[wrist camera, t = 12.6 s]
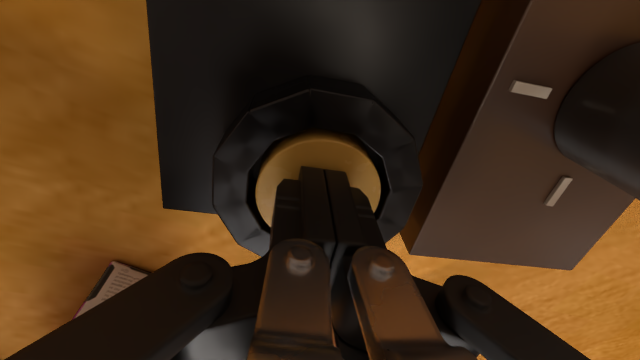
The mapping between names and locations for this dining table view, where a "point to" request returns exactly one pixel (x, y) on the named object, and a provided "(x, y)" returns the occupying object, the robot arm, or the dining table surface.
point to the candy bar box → (111, 284)
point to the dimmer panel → (518, 138)
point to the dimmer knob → (605, 120)
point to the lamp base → (295, 93)
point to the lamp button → (315, 164)
